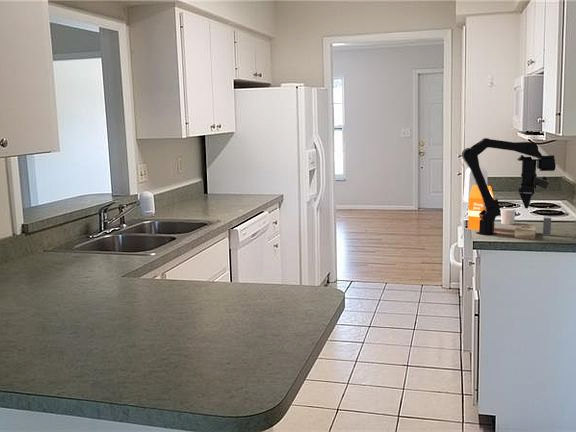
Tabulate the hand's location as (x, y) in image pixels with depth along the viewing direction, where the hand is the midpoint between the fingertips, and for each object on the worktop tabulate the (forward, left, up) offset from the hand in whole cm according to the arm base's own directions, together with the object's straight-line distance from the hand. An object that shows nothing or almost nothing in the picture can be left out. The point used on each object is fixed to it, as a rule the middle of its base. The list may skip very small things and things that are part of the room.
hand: (527, 207), depth 274 cm
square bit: (+5, -7, -12) cm, 15 cm away
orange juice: (-3, +22, -12) cm, 25 cm away
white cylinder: (+18, +22, -12) cm, 31 cm away
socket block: (-3, -1, -12) cm, 12 cm away
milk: (+71, +81, -12) cm, 108 cm away
